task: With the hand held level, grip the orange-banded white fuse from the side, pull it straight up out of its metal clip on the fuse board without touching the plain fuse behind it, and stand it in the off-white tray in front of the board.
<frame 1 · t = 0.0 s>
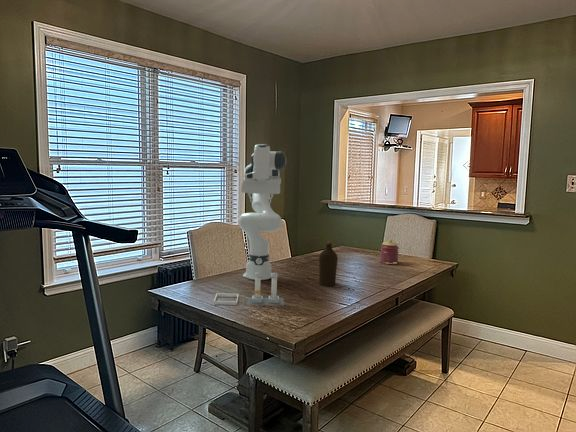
hand: (260, 202, 230), 48 cm above the table, tool pointing down, fingers open, 8 cm apart
olive oil: (327, 284, 256), on the table
tray: (226, 302, 215), on the table
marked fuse: (257, 301, 216), point 1 cm above the table, touching fuse board
fuse board: (265, 303, 216), on the table
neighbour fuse: (273, 301, 216), point 1 cm above the table, touching fuse board
canister: (388, 263, 320), on the table
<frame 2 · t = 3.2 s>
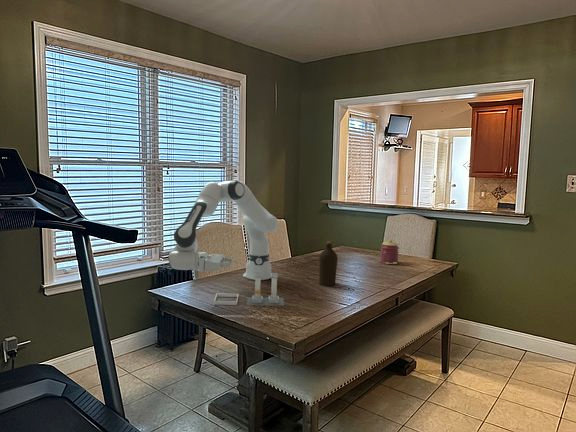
hand: (231, 262, 213), 20 cm above the table, tool horizontal, fingers open, 8 cm apart
nothing on the table moved.
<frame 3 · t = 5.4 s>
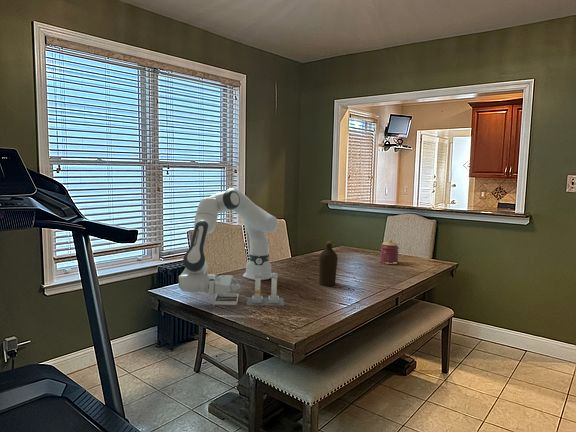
hand: (241, 283, 214), 9 cm above the table, tool horizontal, fingers open, 8 cm apart
nothing on the table moved.
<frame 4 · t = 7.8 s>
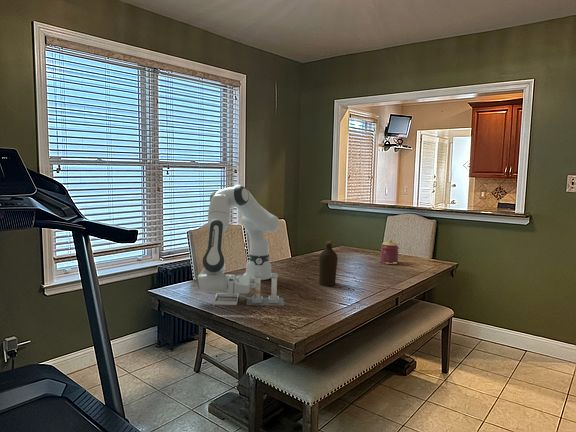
hand: (259, 284, 215), 10 cm above the table, tool horizontal, fingers closed on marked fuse, 3 cm apart
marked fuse: (257, 301, 216), point 1 cm above the table, touching fuse board, gripper
everything else where it was.
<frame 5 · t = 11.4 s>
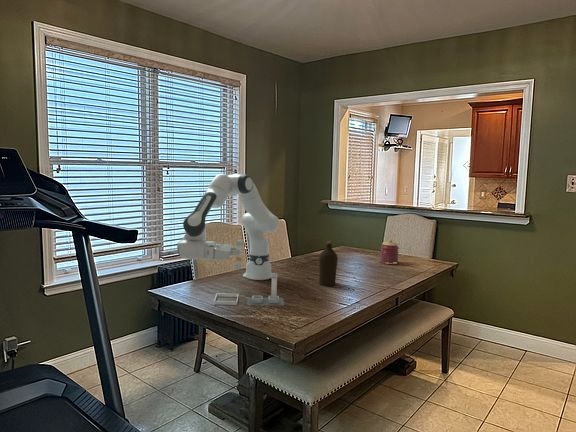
hand: (240, 251, 212), 26 cm above the table, tool horizontal, fingers closed on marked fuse, 3 cm apart
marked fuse: (238, 268, 212), point 17 cm above the table, touching gripper
everything else where it was.
when the fingers open (11 cm above the table, at t = 14.9 s): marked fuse drops 2 cm, resting on tray.
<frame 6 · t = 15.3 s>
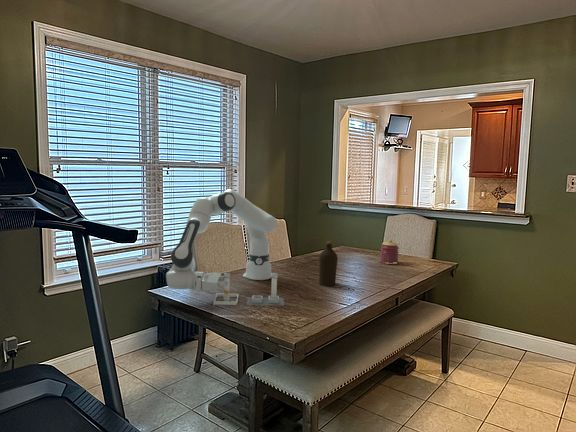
hand: (228, 281, 214), 11 cm above the table, tool horizontal, fingers open, 7 cm apart
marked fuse: (226, 301, 215), resting on tray
everything else where it was.
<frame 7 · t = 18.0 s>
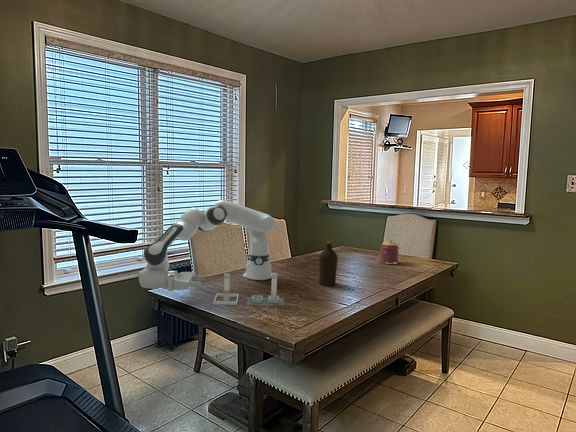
hand: (201, 280, 213), 11 cm above the table, tool horizontal, fingers open, 8 cm apart
nothing on the table moved.
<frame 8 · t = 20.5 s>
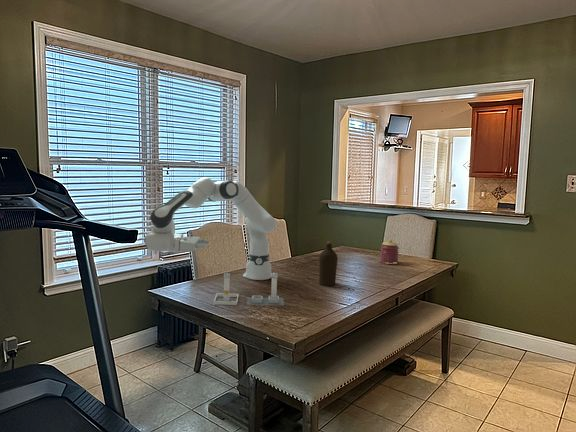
hand: (207, 243, 215), 28 cm above the table, tool horizontal, fingers open, 8 cm apart
nothing on the table moved.
at the end: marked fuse inside the target area on the tray (0.0 cm from its centre), point 0.4 cm above the tray's base; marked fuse tilted 0°; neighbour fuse moved 0.0 cm from its start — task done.
